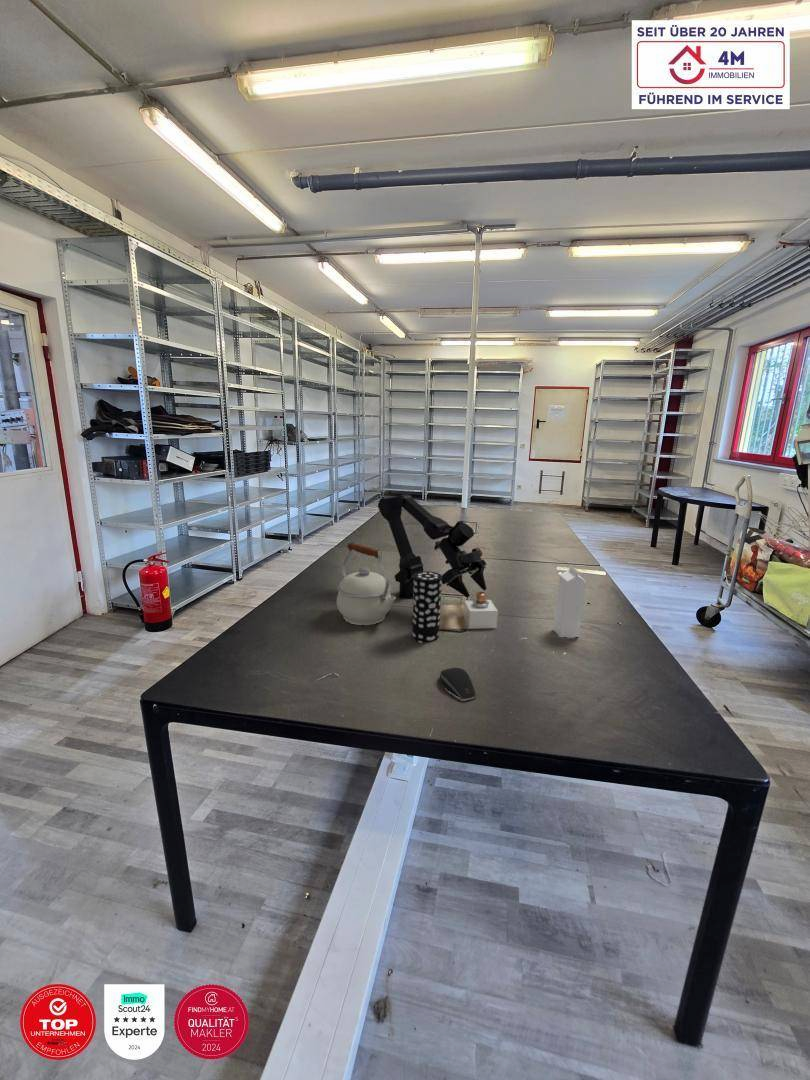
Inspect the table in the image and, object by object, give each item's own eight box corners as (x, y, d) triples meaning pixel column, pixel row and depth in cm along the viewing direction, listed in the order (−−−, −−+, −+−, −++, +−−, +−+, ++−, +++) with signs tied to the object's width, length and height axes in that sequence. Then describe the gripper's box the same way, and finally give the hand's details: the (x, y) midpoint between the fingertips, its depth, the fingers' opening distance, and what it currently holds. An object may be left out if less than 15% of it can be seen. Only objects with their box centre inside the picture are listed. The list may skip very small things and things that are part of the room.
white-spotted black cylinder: (442, 634, 138) (445, 574, 133) (433, 646, 130) (435, 582, 125) (418, 628, 141) (420, 569, 136) (407, 639, 134) (409, 577, 129)
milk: (570, 629, 143) (579, 565, 138) (578, 638, 137) (588, 571, 132) (552, 629, 143) (560, 564, 137) (559, 638, 137) (568, 571, 131)
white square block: (468, 628, 141) (470, 611, 139) (463, 616, 150) (464, 600, 148) (496, 628, 142) (497, 610, 140) (489, 616, 150) (490, 599, 149)
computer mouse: (457, 705, 104) (457, 690, 103) (433, 678, 115) (434, 664, 114) (482, 698, 106) (483, 684, 105) (457, 672, 117) (458, 659, 116)
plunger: (473, 622, 143) (475, 596, 140) (470, 616, 148) (471, 590, 145) (489, 622, 143) (491, 596, 141) (485, 615, 148) (487, 590, 146)
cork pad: (437, 630, 140) (437, 628, 140) (430, 606, 159) (430, 604, 159) (496, 629, 142) (496, 628, 142) (482, 605, 160) (482, 604, 160)
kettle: (322, 615, 150) (320, 544, 143) (363, 600, 163) (362, 535, 156) (372, 640, 133) (373, 561, 127) (413, 621, 146) (415, 549, 140)
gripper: (449, 545, 137) (475, 588, 132) (484, 536, 150) (509, 575, 145) (429, 563, 144) (453, 605, 140) (464, 553, 157) (487, 590, 153)
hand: (477, 593), depth 144 cm, fingers open, 9 cm apart
